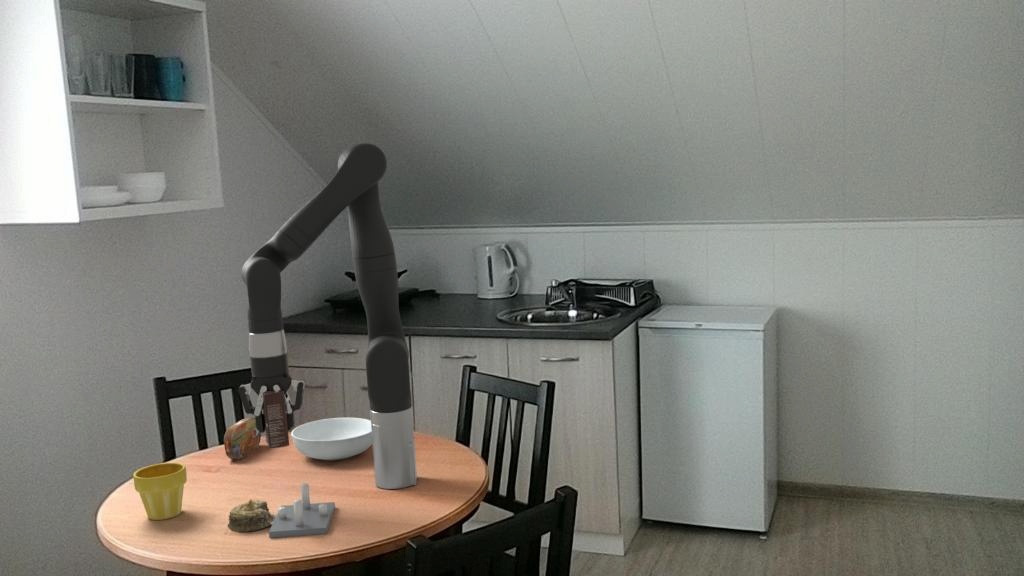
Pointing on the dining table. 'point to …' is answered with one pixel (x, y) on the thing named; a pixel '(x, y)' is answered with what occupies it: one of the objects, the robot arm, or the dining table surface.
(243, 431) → the tin
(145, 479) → the plant pot
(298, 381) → the robot arm
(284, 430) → the box
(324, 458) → the serving bowl
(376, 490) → the dining table surface
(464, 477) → the dining table surface
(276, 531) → the pin tray
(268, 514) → the sea snail shell
